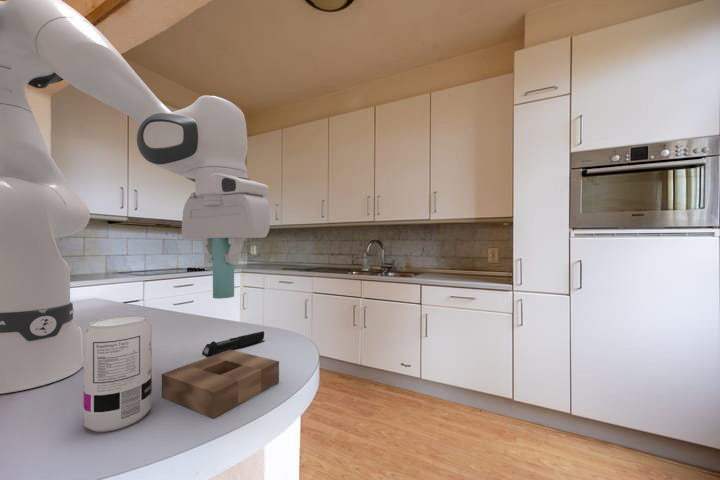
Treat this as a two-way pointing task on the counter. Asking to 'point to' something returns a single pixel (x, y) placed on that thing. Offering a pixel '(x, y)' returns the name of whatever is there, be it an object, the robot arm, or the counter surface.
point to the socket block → (219, 381)
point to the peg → (222, 270)
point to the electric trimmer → (232, 343)
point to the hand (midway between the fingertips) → (222, 263)
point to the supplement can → (117, 372)
